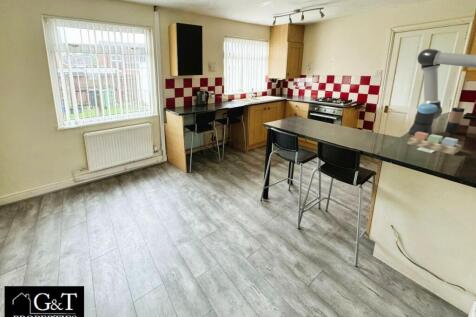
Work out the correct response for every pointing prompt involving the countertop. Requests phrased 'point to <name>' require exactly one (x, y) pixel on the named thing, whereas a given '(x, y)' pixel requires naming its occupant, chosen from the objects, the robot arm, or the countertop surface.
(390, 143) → the countertop surface
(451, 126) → the travel mug
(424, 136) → the terracotta key
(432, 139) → the sage key
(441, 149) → the key panel
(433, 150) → the card
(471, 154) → the countertop surface
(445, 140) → the slate key
